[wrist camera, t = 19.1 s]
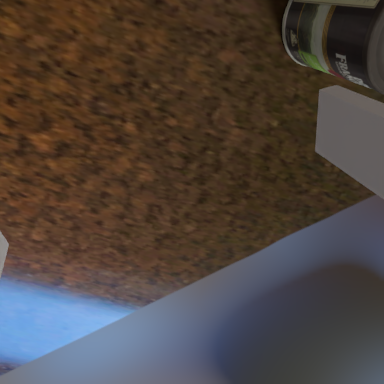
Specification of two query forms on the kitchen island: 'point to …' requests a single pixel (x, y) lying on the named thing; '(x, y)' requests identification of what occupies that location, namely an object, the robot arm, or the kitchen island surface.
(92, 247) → the kitchen island surface
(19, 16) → the kitchen island surface
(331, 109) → the robot arm
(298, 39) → the coffee can
